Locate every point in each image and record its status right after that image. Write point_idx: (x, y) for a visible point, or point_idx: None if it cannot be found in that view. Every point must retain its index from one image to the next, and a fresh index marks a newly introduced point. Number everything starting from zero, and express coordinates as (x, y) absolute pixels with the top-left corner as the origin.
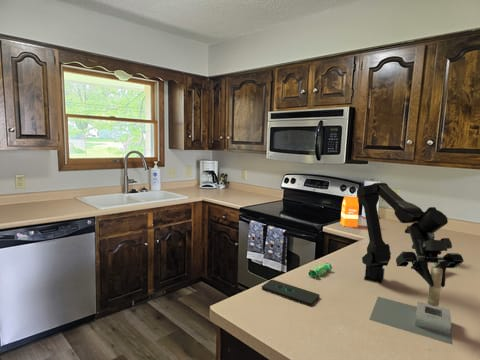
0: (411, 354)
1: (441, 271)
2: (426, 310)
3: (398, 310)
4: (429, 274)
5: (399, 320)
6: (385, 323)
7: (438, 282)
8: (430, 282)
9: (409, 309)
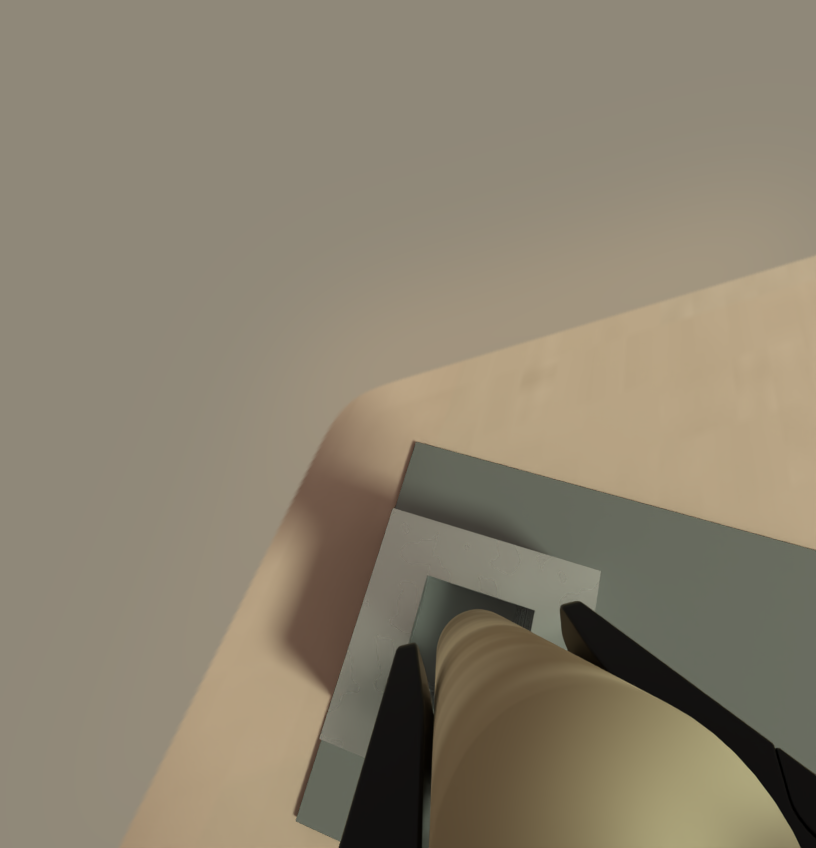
0: (612, 322)
1: (497, 699)
2: None
3: None
4: None
5: (662, 609)
6: (745, 541)
7: (501, 636)
8: (618, 638)
9: None
